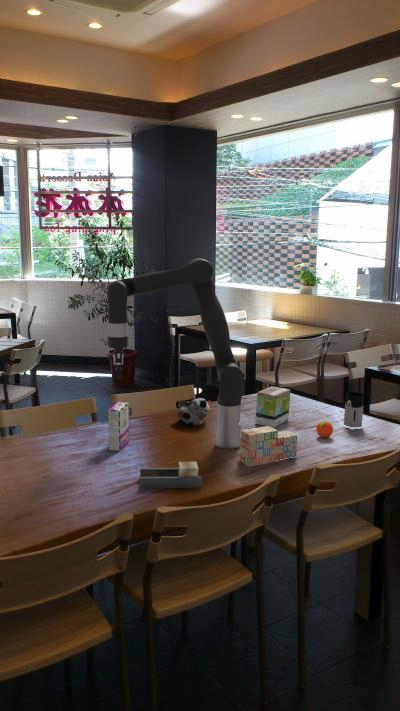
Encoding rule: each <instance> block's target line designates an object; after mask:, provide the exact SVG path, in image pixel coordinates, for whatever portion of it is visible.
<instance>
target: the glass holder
mask: <svg viewBox="0 0 400 711" xmlns="http://www.w3.org/2000/svg"><path fill="white" fill-rule="evenodd" d="M364 397H365V395H364V393H361V392H358V391H355V392H354V391H350V392H346V395H345V403H344V414H343V416H344V417H343V424H344V425H346V426H349V427H361V426H362V427H363V414H364V401H365V400H364Z"/></svg>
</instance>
